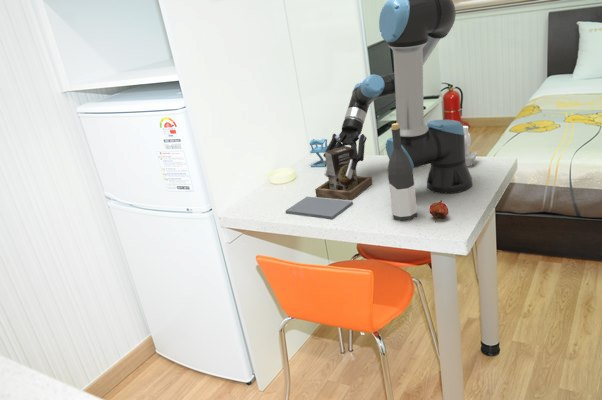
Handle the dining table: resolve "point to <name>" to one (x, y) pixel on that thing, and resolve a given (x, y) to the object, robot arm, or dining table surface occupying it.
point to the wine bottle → (401, 181)
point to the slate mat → (319, 207)
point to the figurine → (468, 155)
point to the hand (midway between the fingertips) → (337, 176)
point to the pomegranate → (438, 210)
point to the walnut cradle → (345, 195)
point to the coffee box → (340, 168)
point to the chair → (318, 150)
